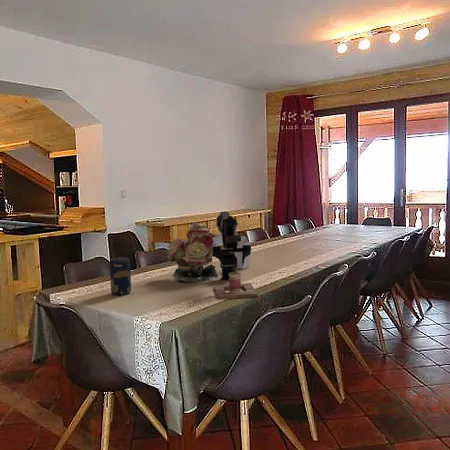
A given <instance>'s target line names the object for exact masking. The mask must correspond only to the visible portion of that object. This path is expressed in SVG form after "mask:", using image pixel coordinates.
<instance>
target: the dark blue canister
mask: <svg viewBox="0 0 450 450" xmlns="http://www.w3.org/2000/svg"><path fill="white" fill-rule="evenodd" d="M130 261H131V260H130V259H129V258H128V257H122V256H118V257H113V258H110V259H109V262H108V264H109V278H110V279H109V280H110V292H111V294H112V295H116V296H117V295H118V296H122V295H127V294H129V293H131V292H132V275H131V262H130Z"/></svg>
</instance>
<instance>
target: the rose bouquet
mask: <svg viewBox="0 0 450 450" xmlns="http://www.w3.org/2000/svg"><path fill="white" fill-rule="evenodd" d="M189 228H190V229H189V230H187V231H186V232H187V233H186V237H187V240H188V241H184V240H182V239H181V238H180V237H177V238H175V239H173V240H172V241H171V242H170V243H169V245H167V246H166V247H167V248H168V249H167V250H166V251H165V254H167V256H166V257H167V258H168V261H169V263H173V262H174V263H175V264H177V268H176V269H175V270H174V273H173V274H172V277H173V278H175V281H182V282H185V284H194V283H195V284H196V283H200V282H204V281H212V280H215V279H217V278H219V276H218V273H217V270H216V265H215V266H214V265H213V263H212V262H213V255H212V249H213V246H218V243H215V240H214V239H213V238H215V237H217V234H215V233H214V232H211V231H210V230H211V226H209V227H207V226H206V225H204V224H202V223H196V222H192V223H191V224H190V225H189ZM210 263H211V264H210ZM204 266H205V267H204Z"/></svg>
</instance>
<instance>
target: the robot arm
mask: <svg viewBox="0 0 450 450" xmlns="http://www.w3.org/2000/svg"><path fill="white" fill-rule="evenodd" d="M215 220H216V221H215V222H216V227H217V231H218V232H219V233H221V234H220V235H221V242H222V245H215V246H213V249H212V255H213V256H212V258H215V259H218V260H219V267H220V269H221V277H220V280H228V281H229V273H232V272H236V269H237V268H236V267H237V258H236V256H235V253H236V252H242V265H243V264H244V260H245V258H246V257H248V255H250V256H251V253H252V246H251V245H243V246H242V248H237V246H238V243H237V242H241V236H242V235H241V234H236V231H237V227H238V225H239V223H238V220H237V219H235V218H234V217H233V216H232V215H230V211H229V212H228V211H221V212H219V215H218V216H217V217H216V219H215Z"/></svg>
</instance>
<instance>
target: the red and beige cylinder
mask: <svg viewBox="0 0 450 450" xmlns="http://www.w3.org/2000/svg"><path fill="white" fill-rule="evenodd" d="M241 275H242V273H241V272H239V271H238V272H236V271H235V272H232V273H229V280H228V284H229V288H230V289H229V290H228V292H242V289H240V288H241V284H242V283H241V281H242V280H241Z"/></svg>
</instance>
